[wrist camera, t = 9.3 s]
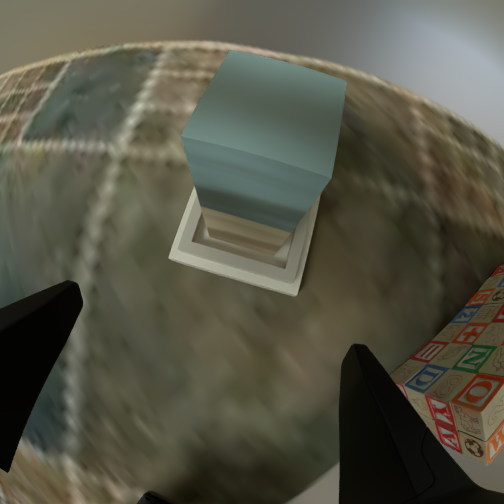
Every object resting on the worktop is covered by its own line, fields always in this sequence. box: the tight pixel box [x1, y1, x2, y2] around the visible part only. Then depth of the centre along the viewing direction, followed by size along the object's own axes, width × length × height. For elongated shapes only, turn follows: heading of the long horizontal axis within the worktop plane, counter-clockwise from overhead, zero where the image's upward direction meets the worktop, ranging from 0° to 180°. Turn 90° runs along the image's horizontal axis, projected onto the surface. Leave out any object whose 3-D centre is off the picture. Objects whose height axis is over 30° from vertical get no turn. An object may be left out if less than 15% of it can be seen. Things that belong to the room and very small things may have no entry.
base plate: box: [169, 186, 321, 297], centre depth 22 cm, size 10×10×2 cm
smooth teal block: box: [181, 50, 347, 256], centre depth 15 cm, size 5×5×13 cm
